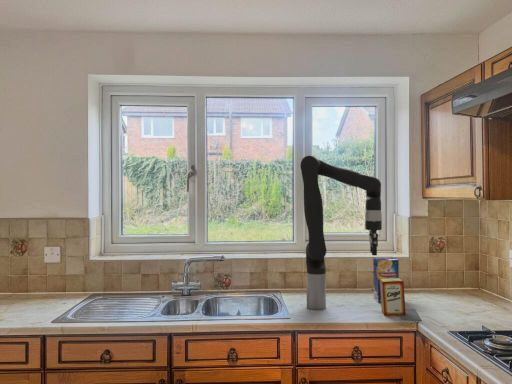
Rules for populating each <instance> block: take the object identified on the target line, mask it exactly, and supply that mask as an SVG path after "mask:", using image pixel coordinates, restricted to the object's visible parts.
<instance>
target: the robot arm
mask: <svg viewBox="0 0 512 384" xmlns="http://www.w3.org/2000/svg"><path fill="white" fill-rule="evenodd" d="M299 167H300V172H301V178H302V184H303V186H302V187H303V213H304V219H305V224H306V227H307V231H308V243H307V244H306V247H305V259H306V260H305V265H306V309H309V310H312V311H313V310H314V311H316V310H317V311H319V310H320V311H322V310H325V309H326V308H327V301H326V299H327V294H326V293H327V291H326V287H327V283H326V282H327V280H326V279H327V278H326V275H327V273H326V272H327V271H326V270H327V269H326V264H325V257H326V255H327V246H326V241H325V234H324V203H323V198H322V193H321V190H320V185H319V176H321V177H322V176H323V177H326V178H329V179H332V180H335V181H337V182H339V183H341V184H345V185H348V186H350V187H355V188H359V189H362V190H365V191H366V192H365V194H366V195H365V197H366V199H365V215H364V219H365V220H364V221H365V226H364V228H365V230H366V231H369V233H368V240H369V251H370V253H371V255H372V256H377V255H378V247H379V234H378V233H377V232H378V231H381V230H382V229H383V227H382V226H383V224H382V220H383V219H382V215H383V214H382V201H381V193H382V183H381V181H380V180H379V178H377V177H374V176H370V175H366V174H362V173H360V172H357V171H354V170H351V169H347V168H343V167H339V166H336V165H332V164H330V163H327V162H325V161H323V160H321V159H318V157H316V156H314V155H306V156H304V157H303V158H302V159H301V161H300V166H299Z"/></svg>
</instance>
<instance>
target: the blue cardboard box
mask: <svg viewBox="0 0 512 384" xmlns="http://www.w3.org/2000/svg"><path fill="white" fill-rule="evenodd" d="M372 264H373V265H372V266H373V267H372V268H373V300H374V301H375V302H377V303H378V304H381V292H380V279H390V278H399V276H400V275H399V264H400V262H399V259H397V258H395V257H373V263H372Z"/></svg>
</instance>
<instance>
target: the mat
mask: <svg viewBox="0 0 512 384" xmlns="http://www.w3.org/2000/svg"><path fill="white" fill-rule="evenodd" d="M405 313H406V315H399V317H400V319H401V321H410V322H412V321H414V322H422V321H423V320H422V318H421V316H420V314H419V312H418V311H417V310H416V308H406V307H405Z"/></svg>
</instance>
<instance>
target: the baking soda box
mask: <svg viewBox="0 0 512 384" xmlns="http://www.w3.org/2000/svg"><path fill="white" fill-rule="evenodd" d="M404 282H405V281H404V280H403V279H402V278H390V279H380V292H381V303H380V305H381V313H382V314H383V315H384V316H400V315H406V313H405V308H406V302H405V301H406V298H405V285H404Z"/></svg>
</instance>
